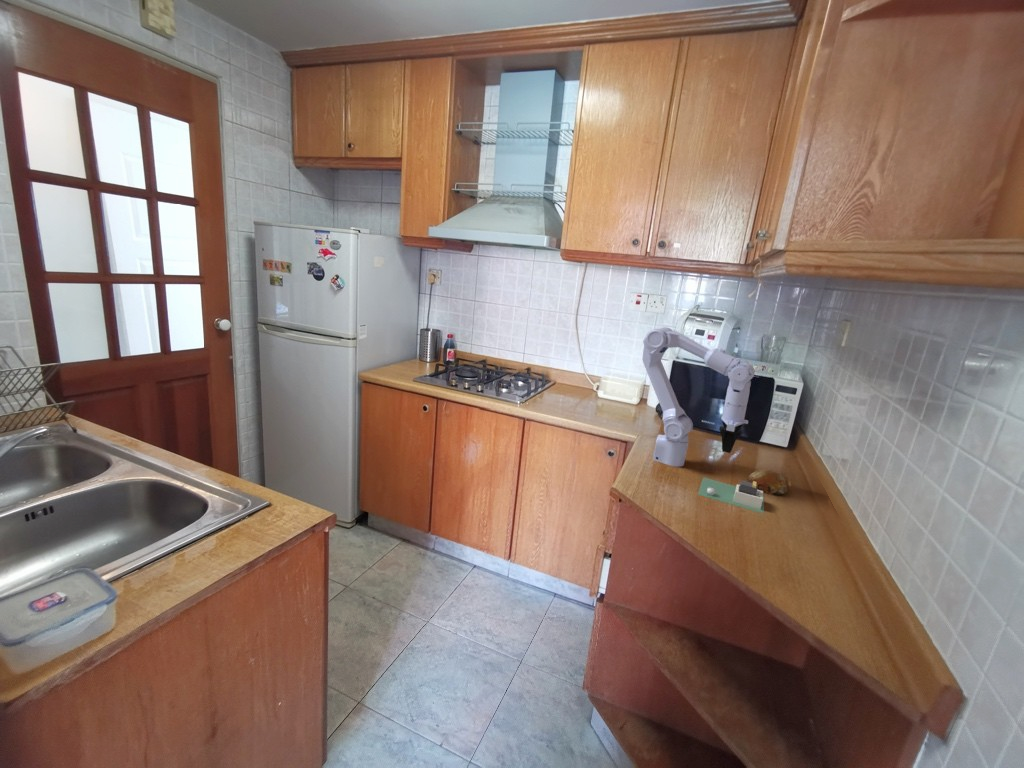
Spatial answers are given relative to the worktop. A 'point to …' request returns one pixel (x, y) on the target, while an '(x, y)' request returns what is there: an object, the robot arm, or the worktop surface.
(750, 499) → the white rectangular frame
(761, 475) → the bread roll
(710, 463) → the worktop surface
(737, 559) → the worktop surface
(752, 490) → the plug
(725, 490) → the board
